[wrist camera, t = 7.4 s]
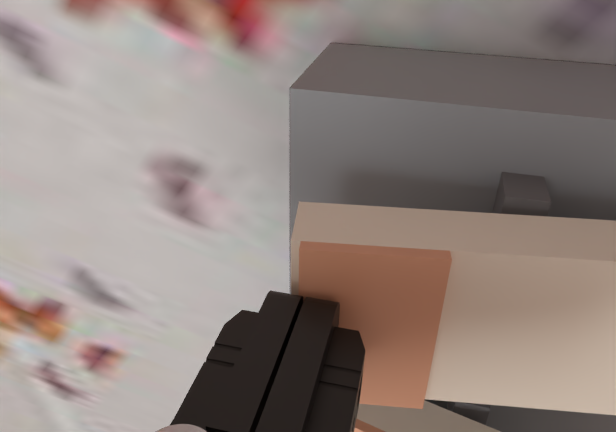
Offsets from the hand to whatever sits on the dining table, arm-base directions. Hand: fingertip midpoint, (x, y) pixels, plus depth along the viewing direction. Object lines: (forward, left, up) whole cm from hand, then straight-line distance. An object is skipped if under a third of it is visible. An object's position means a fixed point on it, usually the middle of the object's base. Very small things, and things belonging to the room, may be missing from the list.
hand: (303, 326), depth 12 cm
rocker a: (-4, 0, -2) cm, 5 cm away
